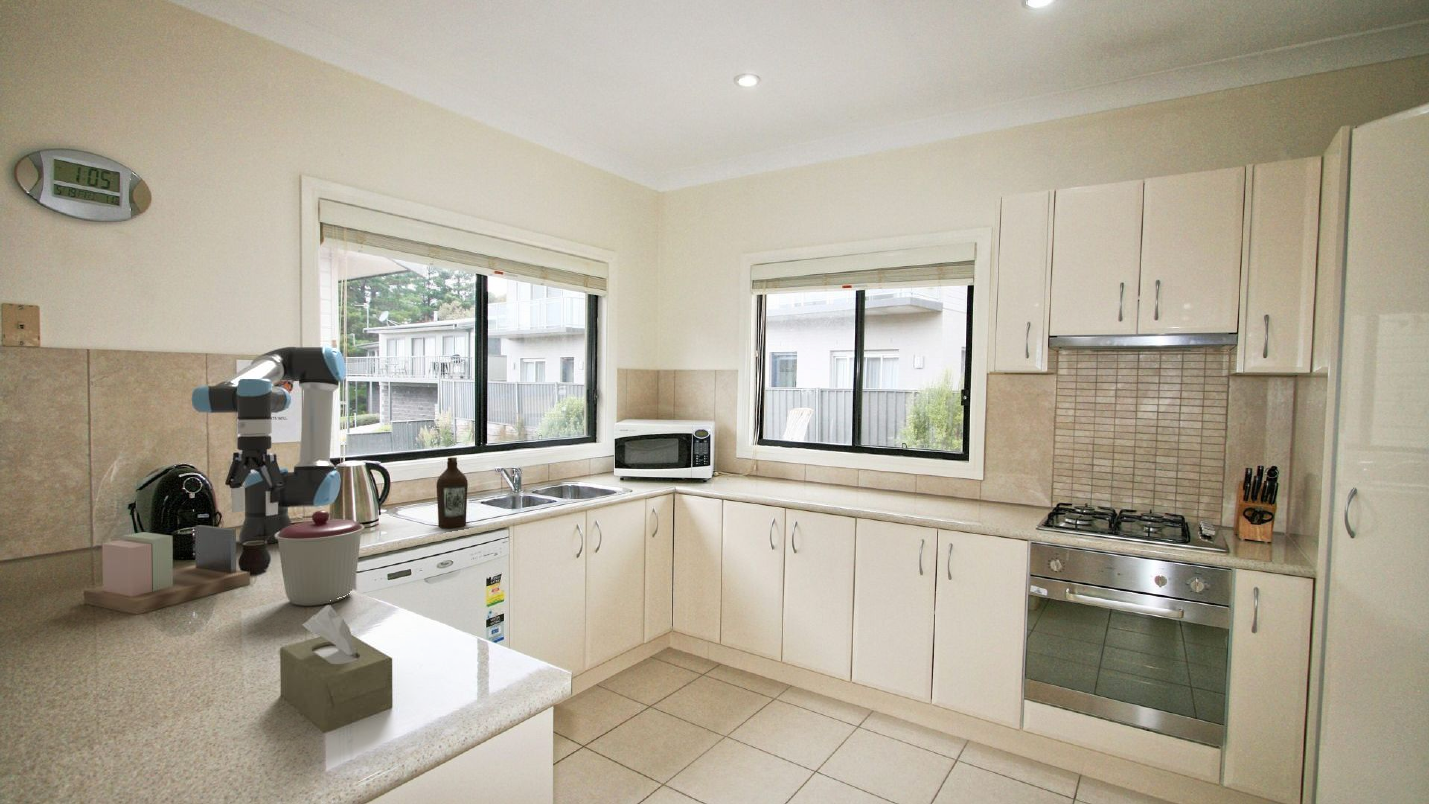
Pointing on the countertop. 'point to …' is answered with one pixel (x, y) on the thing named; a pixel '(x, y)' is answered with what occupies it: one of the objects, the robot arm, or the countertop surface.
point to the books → (138, 564)
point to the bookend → (215, 548)
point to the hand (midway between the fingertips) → (254, 513)
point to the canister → (319, 559)
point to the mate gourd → (254, 557)
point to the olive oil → (452, 496)
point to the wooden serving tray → (170, 590)
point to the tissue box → (335, 674)
